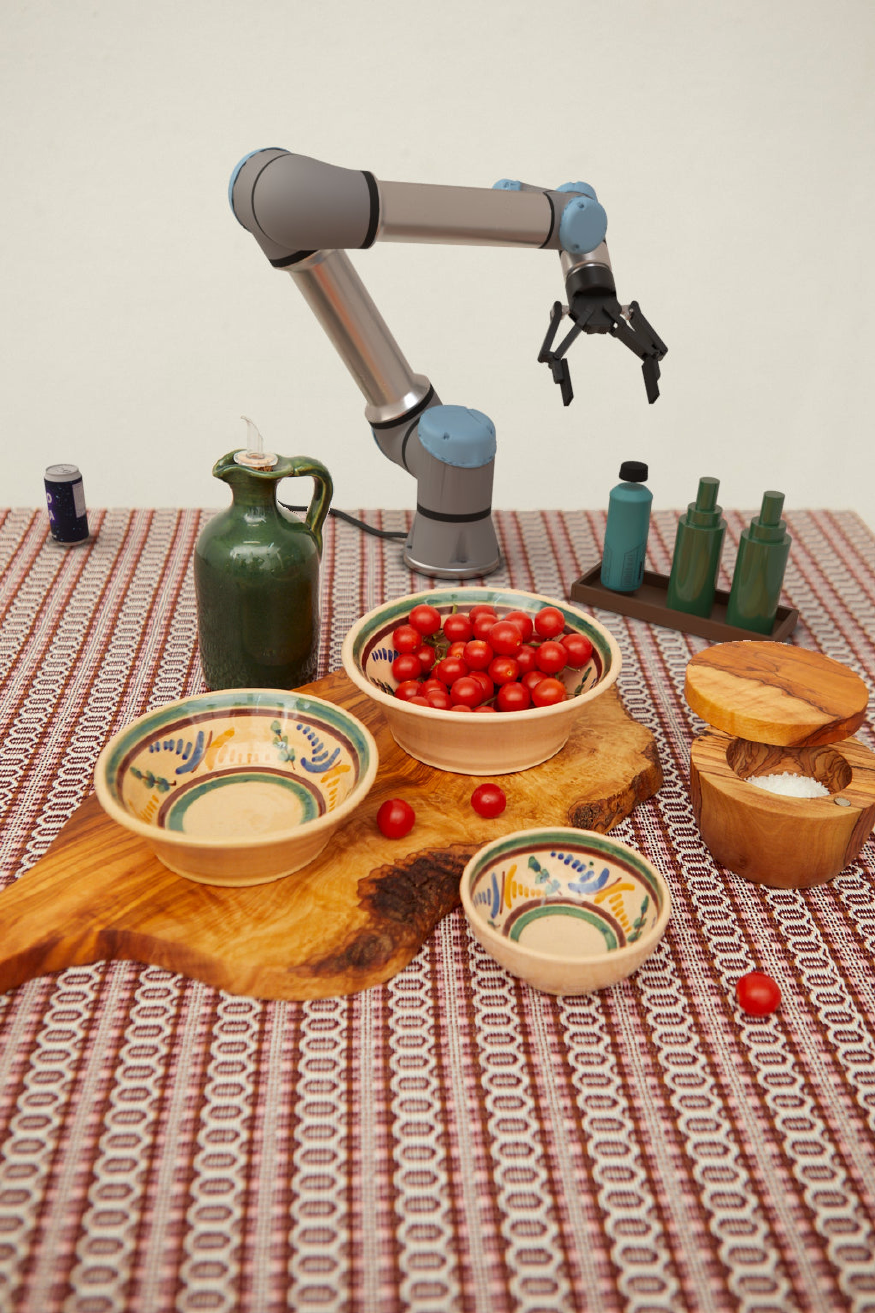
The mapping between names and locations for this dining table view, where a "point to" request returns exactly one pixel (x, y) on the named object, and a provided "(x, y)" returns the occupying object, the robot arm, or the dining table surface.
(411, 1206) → the dining table surface
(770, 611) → the green bottle
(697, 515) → the green bottle
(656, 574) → the tray
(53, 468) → the beverage can
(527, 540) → the dining table surface
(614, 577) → the beverage bottle
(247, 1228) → the dining table surface
